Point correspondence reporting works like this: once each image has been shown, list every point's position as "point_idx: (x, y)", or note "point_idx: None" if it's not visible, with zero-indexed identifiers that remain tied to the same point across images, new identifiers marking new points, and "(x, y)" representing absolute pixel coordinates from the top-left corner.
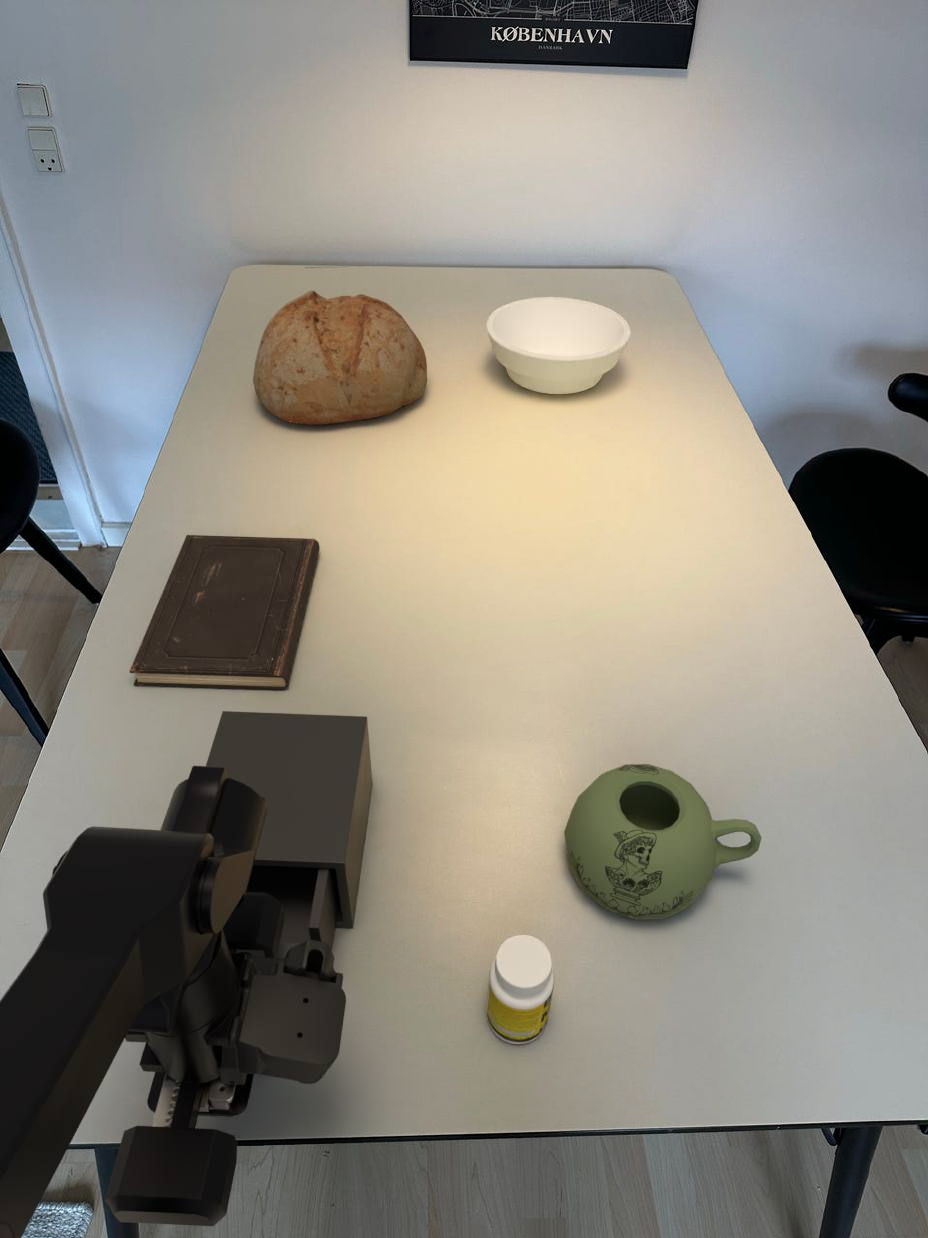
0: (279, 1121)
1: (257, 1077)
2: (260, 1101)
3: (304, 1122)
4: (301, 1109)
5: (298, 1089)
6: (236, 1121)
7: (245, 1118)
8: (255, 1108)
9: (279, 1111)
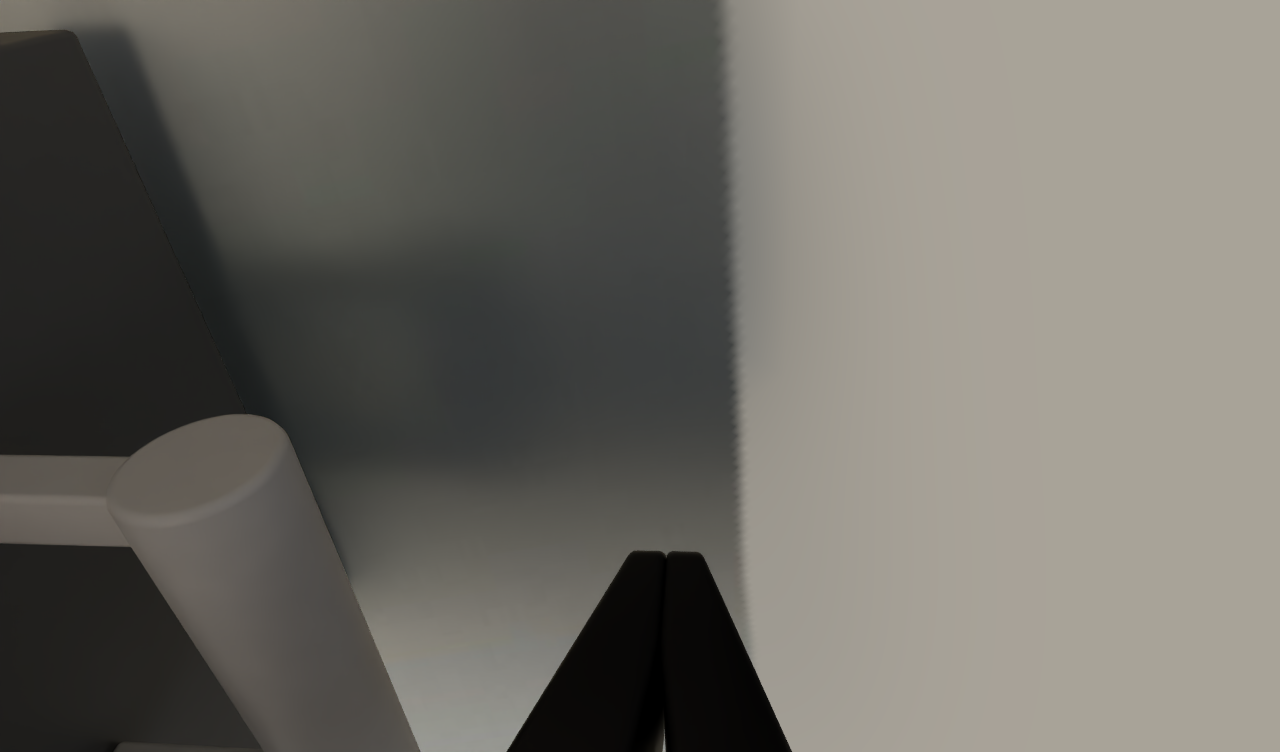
0: (689, 201)
1: (518, 328)
2: (612, 298)
3: (687, 73)
4: (626, 103)
5: (535, 138)
6: (698, 372)
7: (684, 342)
8: (642, 312)
9: (645, 210)
